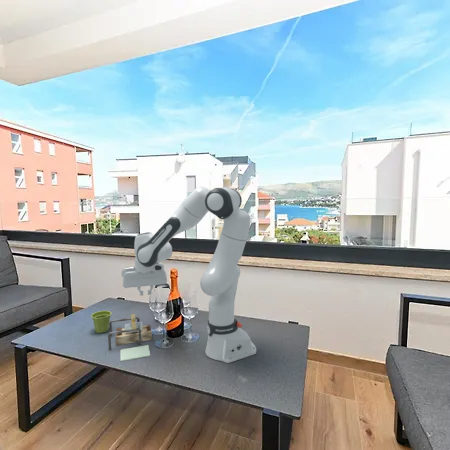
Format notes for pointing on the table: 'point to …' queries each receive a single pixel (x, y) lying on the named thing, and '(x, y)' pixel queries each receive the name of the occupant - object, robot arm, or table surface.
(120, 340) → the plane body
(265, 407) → the table surface
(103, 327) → the plant pot
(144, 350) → the sage mat
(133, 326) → the brass bolt
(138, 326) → the grey block with handle
